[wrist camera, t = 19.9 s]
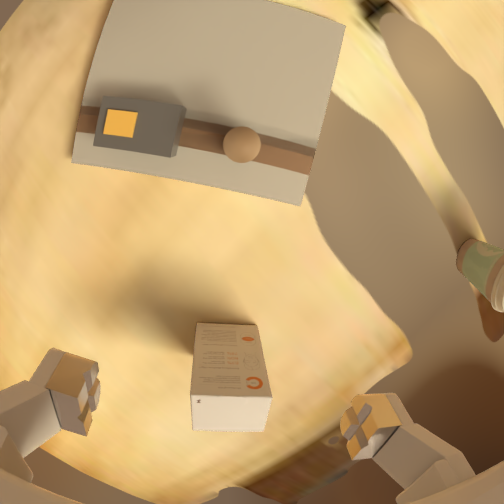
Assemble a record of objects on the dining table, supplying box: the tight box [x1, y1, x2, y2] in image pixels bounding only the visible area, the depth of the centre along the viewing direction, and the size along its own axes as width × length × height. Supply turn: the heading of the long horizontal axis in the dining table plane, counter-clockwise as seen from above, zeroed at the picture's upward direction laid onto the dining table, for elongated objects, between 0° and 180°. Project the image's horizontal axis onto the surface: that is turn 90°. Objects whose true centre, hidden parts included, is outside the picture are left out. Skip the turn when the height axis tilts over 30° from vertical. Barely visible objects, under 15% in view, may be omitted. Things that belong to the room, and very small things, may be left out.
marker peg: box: [223, 126, 261, 163], centre depth 27 cm, size 3×3×7 cm
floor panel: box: [71, 0, 346, 206], centre depth 28 cm, size 26×22×2 cm
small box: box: [190, 323, 272, 432], centre depth 34 cm, size 8×6×13 cm
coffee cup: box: [456, 239, 504, 312], centre depth 34 cm, size 8×8×12 cm
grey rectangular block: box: [93, 96, 187, 158], centre depth 27 cm, size 8×5×4 cm, turn 76°
